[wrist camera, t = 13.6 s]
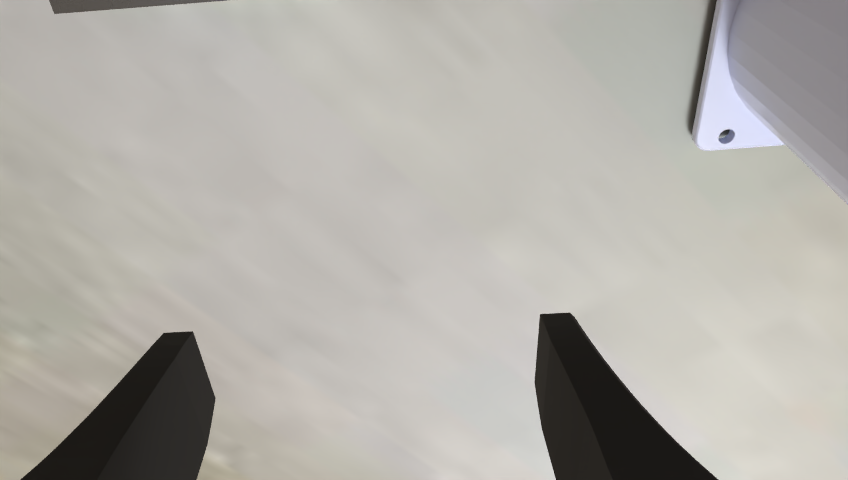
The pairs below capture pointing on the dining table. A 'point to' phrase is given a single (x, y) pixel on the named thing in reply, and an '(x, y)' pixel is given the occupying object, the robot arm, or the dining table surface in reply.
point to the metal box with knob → (111, 4)
